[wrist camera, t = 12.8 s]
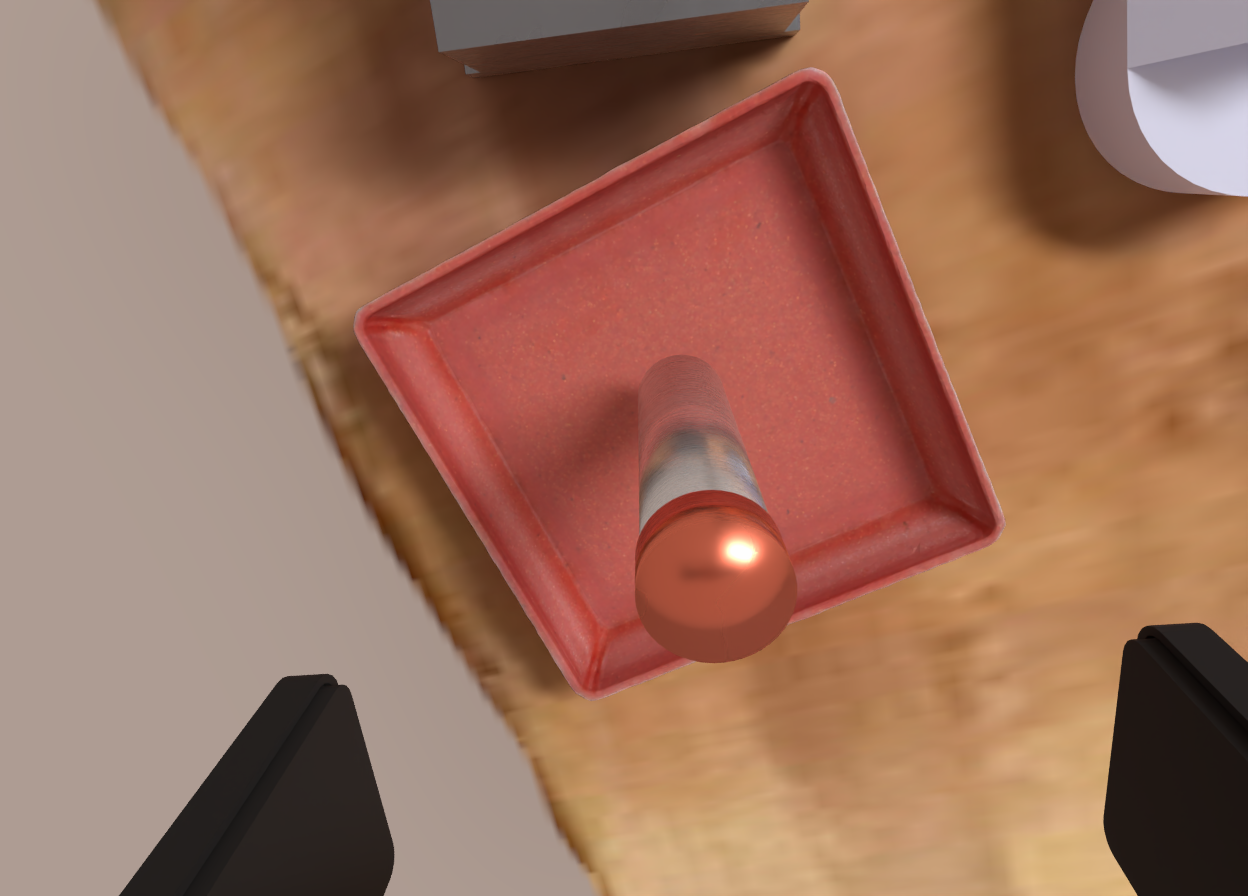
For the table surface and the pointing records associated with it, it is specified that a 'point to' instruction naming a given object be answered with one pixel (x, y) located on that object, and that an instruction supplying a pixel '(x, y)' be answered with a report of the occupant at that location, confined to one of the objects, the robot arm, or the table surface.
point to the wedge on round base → (1168, 92)
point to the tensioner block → (597, 29)
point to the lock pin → (703, 523)
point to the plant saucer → (704, 328)
